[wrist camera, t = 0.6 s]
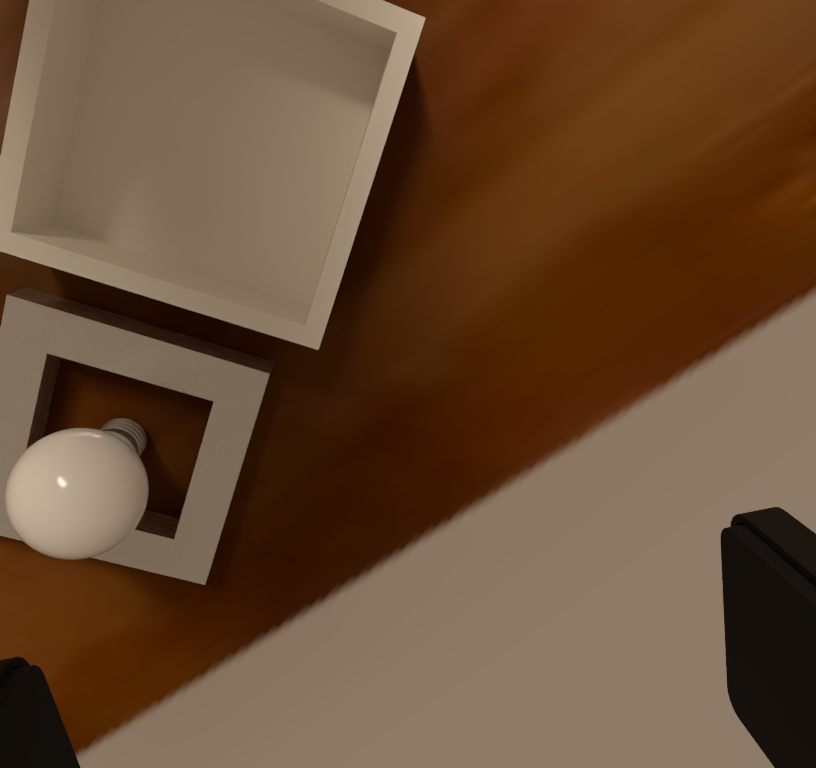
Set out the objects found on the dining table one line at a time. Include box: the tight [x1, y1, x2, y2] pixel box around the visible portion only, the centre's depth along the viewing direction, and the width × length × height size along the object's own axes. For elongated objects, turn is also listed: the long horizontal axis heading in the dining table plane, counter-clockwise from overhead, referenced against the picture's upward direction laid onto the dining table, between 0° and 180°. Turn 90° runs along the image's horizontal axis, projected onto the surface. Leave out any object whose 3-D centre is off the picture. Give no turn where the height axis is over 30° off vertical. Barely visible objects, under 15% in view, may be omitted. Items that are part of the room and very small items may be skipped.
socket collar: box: [0, 287, 274, 585], centre depth 40 cm, size 14×14×2 cm
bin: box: [0, 0, 425, 350], centre depth 34 cm, size 16×16×6 cm
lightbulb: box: [5, 418, 149, 560], centre depth 36 cm, size 6×6×11 cm
